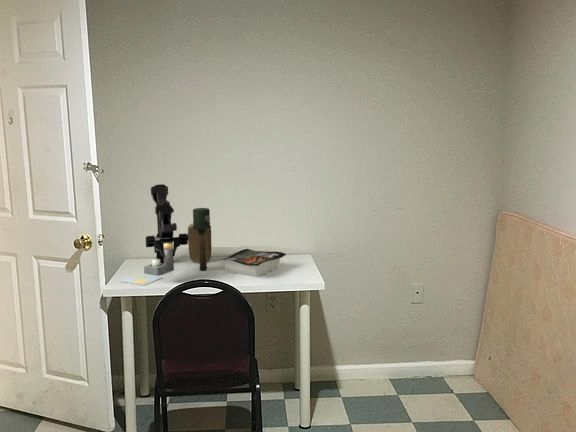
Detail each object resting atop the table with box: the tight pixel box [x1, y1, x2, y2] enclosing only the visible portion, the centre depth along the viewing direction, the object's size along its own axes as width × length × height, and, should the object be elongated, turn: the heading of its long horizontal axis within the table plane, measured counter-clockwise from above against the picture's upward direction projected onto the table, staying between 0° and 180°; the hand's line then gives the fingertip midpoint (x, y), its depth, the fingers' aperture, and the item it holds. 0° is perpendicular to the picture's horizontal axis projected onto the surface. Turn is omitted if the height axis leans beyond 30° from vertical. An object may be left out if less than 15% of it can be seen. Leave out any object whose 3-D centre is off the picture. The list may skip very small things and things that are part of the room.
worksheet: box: [119, 273, 163, 287], centre depth 274 cm, size 13×14×1 cm
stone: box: [187, 222, 212, 263], centre depth 304 cm, size 12×7×20 cm, turn 99°
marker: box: [164, 242, 175, 272], centre depth 268 cm, size 4×4×12 cm
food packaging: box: [220, 248, 287, 278], centre depth 288 cm, size 25×8×23 cm
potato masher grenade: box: [192, 207, 212, 272], centre depth 287 cm, size 8×9×30 cm
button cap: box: [151, 258, 160, 267], centre depth 286 cm, size 4×4×5 cm
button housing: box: [143, 263, 169, 277], centre depth 286 cm, size 8×8×4 cm
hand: (168, 256), depth 266 cm, fingers closed on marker, 4 cm apart
